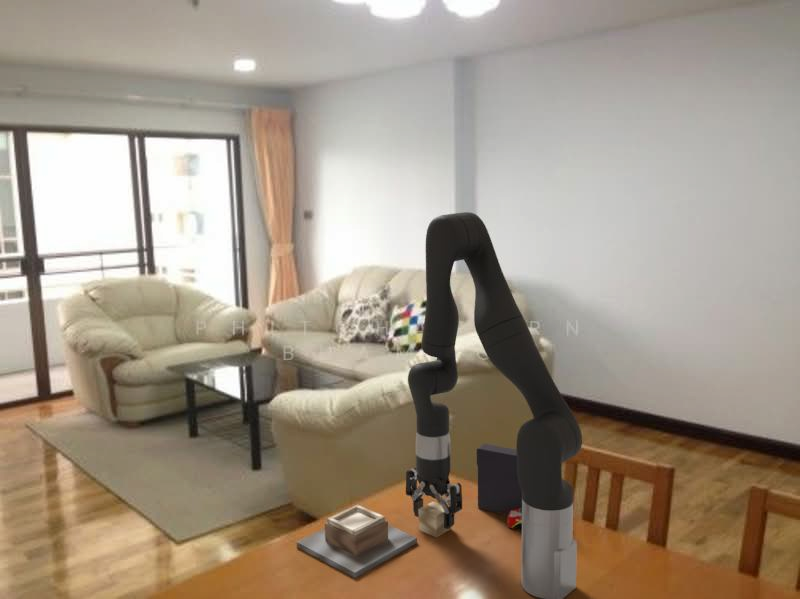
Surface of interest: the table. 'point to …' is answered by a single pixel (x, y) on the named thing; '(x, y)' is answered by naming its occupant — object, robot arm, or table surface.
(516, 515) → the race car
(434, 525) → the maple cube
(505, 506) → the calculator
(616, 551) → the table surface
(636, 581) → the table surface
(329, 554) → the plate
